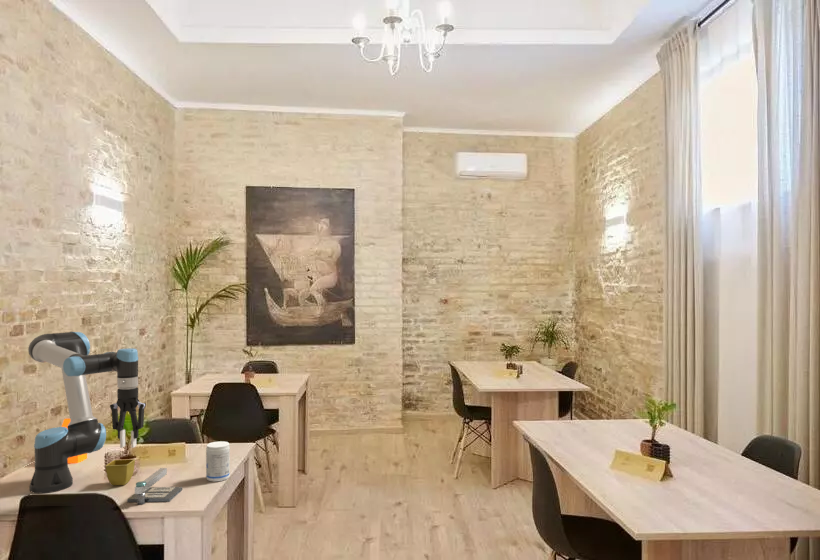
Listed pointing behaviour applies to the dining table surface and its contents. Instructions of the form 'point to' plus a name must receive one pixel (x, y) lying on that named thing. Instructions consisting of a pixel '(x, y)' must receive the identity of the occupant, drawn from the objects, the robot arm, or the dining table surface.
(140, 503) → the pivot post
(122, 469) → the flower pot
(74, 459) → the orange juice
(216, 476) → the supplement tub
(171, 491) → the label plate
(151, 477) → the swing bar
